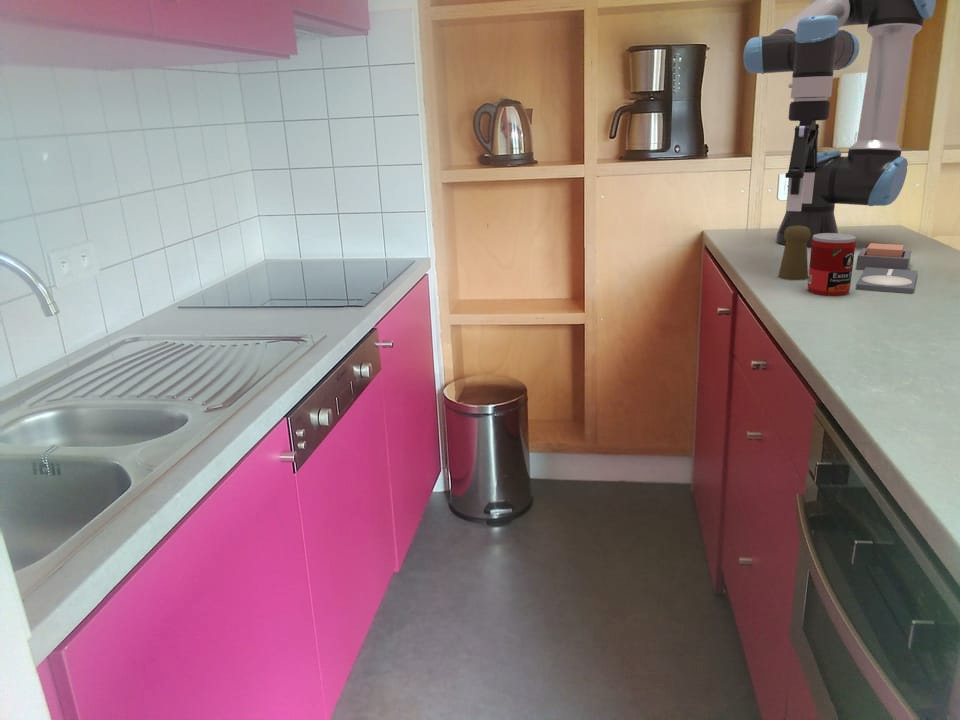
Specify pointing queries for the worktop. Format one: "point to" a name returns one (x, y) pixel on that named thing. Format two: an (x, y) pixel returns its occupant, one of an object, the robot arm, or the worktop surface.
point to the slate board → (887, 280)
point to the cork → (795, 254)
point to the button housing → (883, 261)
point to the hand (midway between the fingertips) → (799, 207)
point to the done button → (885, 250)
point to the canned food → (831, 263)
